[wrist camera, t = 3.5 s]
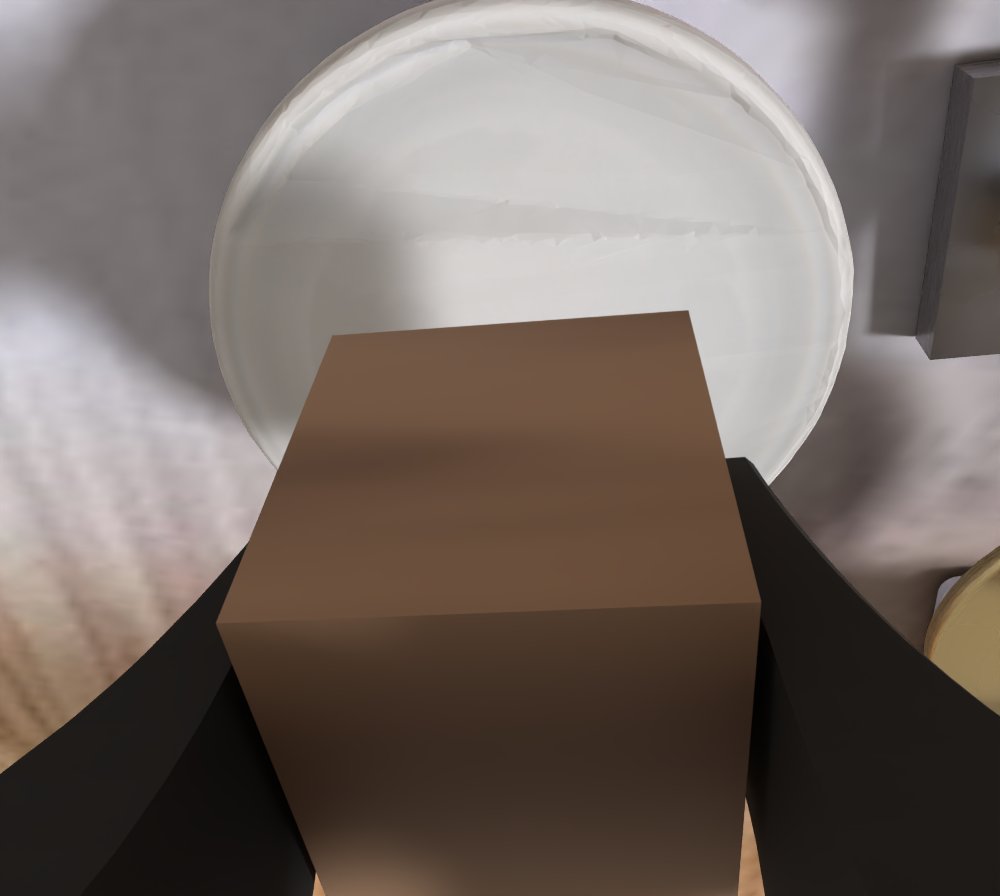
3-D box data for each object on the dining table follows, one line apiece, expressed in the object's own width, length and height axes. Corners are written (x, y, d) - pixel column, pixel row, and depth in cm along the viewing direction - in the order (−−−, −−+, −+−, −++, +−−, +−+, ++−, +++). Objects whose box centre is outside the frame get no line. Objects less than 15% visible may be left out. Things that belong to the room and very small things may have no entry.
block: (685, 576, 14) (737, 901, 10) (392, 588, 14) (329, 903, 10) (688, 309, 11) (760, 603, 7) (332, 335, 12) (216, 623, 8)
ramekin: (637, -198, 16) (670, -189, 11) (869, 307, 21) (952, 441, 17) (166, 152, 20) (60, 257, 15) (462, 503, 25) (445, 653, 21)
